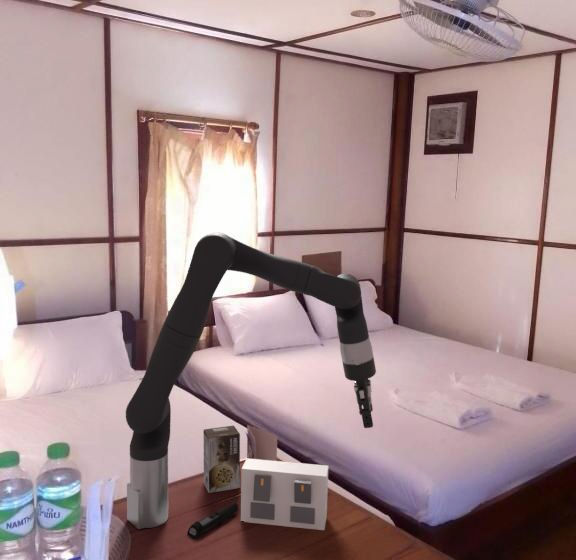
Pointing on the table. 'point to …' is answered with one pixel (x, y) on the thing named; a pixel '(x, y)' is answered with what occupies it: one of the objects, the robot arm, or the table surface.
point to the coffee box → (221, 459)
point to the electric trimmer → (212, 520)
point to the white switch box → (285, 494)
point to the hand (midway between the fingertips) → (368, 419)
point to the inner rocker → (262, 488)
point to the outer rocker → (302, 492)
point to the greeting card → (261, 444)
